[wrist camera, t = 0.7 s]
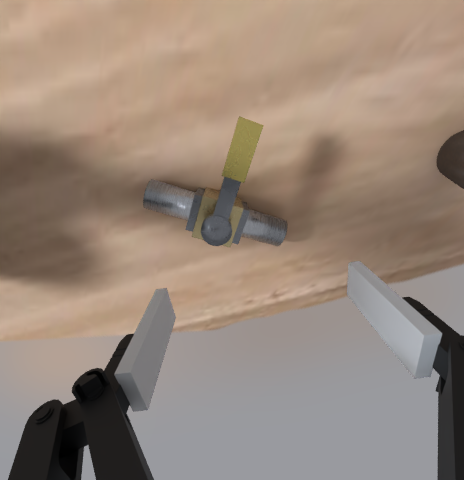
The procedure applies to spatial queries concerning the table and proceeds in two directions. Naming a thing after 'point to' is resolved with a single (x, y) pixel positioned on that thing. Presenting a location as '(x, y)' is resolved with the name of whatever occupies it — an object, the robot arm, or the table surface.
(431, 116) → the table surface
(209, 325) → the table surface
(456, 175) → the plant pot
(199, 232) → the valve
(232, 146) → the lever
